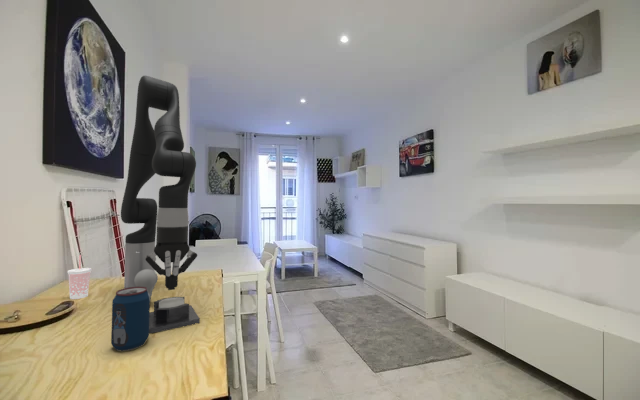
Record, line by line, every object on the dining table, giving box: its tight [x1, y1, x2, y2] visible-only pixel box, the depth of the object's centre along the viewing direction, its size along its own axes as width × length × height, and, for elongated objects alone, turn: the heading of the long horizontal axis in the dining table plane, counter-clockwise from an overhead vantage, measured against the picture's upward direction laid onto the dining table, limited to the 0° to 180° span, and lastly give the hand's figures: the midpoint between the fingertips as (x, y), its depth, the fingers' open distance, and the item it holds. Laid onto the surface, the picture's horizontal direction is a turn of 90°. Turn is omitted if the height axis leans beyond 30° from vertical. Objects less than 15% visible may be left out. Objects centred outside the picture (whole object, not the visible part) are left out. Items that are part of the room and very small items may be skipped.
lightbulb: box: [134, 269, 158, 303], centre depth 87 cm, size 6×6×11 cm
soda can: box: [110, 287, 151, 352], centre depth 63 cm, size 7×7×12 cm
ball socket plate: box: [149, 296, 201, 335], centre depth 76 cm, size 12×12×5 cm
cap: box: [159, 296, 184, 308], centre depth 76 cm, size 6×6×4 cm
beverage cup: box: [67, 254, 92, 300], centre depth 95 cm, size 6×6×14 cm
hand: (171, 289), depth 76 cm, fingers closed
